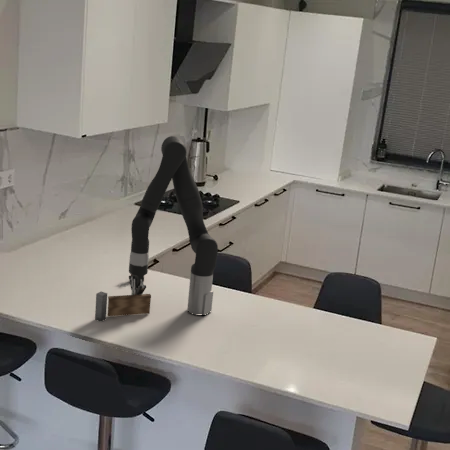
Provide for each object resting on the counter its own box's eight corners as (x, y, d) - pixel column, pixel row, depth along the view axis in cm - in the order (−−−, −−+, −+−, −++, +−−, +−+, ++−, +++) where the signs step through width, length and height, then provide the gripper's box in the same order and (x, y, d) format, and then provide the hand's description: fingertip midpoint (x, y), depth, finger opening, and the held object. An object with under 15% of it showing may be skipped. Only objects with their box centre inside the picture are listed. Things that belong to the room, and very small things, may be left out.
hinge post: (105, 319, 273) (107, 293, 270) (101, 321, 270) (102, 295, 267) (99, 317, 274) (101, 291, 271) (94, 319, 271) (96, 293, 268)
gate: (108, 316, 274) (109, 298, 272) (107, 315, 276) (108, 296, 273) (149, 313, 281) (151, 295, 278) (148, 312, 282) (149, 293, 280)
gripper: (123, 257, 281) (121, 296, 286) (136, 268, 270) (133, 309, 275) (141, 255, 285) (138, 294, 289) (154, 266, 274) (150, 307, 279)
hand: (135, 301), depth 282 cm, fingers closed
